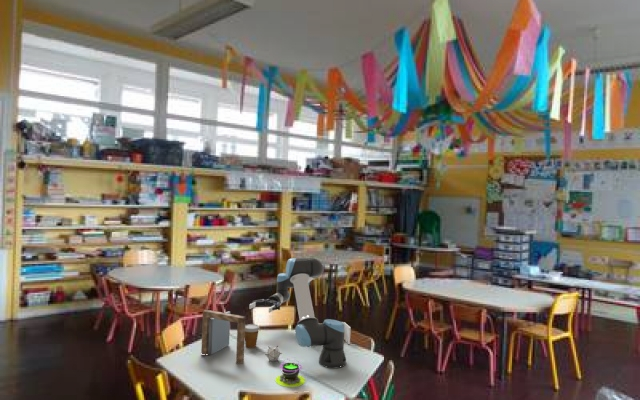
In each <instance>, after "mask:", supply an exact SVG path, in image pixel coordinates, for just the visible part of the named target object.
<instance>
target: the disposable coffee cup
mask: <svg viewBox="0 0 640 400" xmlns="http://www.w3.org/2000/svg"><path fill="white" fill-rule="evenodd" d="M259 331H260V327H259V325H258V324H254V323H250V324H245V343H244V347H246V348H248V349H253V348H256V347H257V341H258V337H259Z"/></svg>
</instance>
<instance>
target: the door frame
mask: <svg viewBox="0 0 640 400" xmlns="http://www.w3.org/2000/svg"><path fill="white" fill-rule="evenodd" d="M211 318H215V319H220V320H225V321H230V323H237V326H236V327H237V329H236V331H237V333H236V352H235V353H236V356H235V363H236V364H239V365H241V364H243V363H244V362H245V325H246V316H243V315H239V314H234V313H233V314H231V313H230V314H228V313H225V312H223V311H222V312H221V311H215V310H210V309H204V310H203V311H202V324H201V325H202V326H201V352H200V353H202V354H205V355H206V354H208V344H209V319H211Z"/></svg>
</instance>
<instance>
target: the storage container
mask: <svg viewBox="0 0 640 400" xmlns="http://www.w3.org/2000/svg"><path fill="white" fill-rule="evenodd" d="M341 322H342V323H343V324H344V331H345V333H344V342H345V343H346V344H347V345H348V344H350V345H351V330H352V329H351V326H350V325H348V324H347V323H346V322H345V321H341ZM322 323H323V322H322ZM322 323H320V322H319V324H322ZM310 348H314V346H310Z"/></svg>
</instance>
